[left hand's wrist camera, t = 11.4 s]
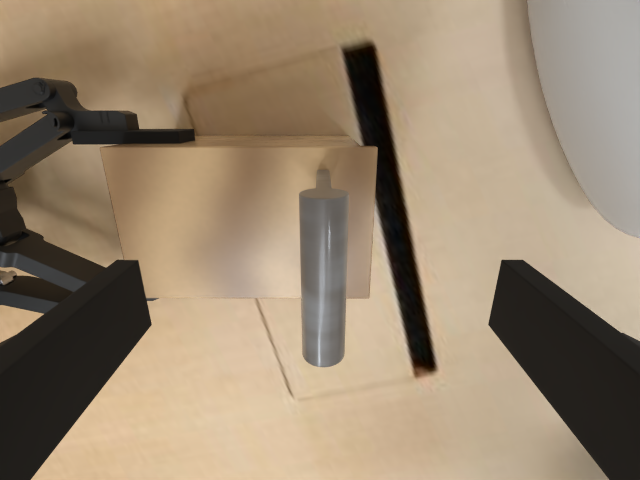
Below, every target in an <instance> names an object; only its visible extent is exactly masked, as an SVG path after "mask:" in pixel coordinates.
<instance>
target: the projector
mask: <svg viewBox="0 0 640 480" xmlns="http://www.w3.org/2000/svg"><path fill="white" fill-rule="evenodd" d="M527 6H528V16H529V24H530V31H531V38H532V44H533V49H534V55H535V60H536V66H537V70H538V74H539V79H540V83H541V87H542V91H543V94H544V98H545V102H546V105H547V108H548V111H549V114H550V117H551V120H552V123H553V126H554V129H555V132H556V134H557V137H558V139H559V142H560V145H561V147H562V149H563V152H564V154H565V156H566V158H567V161H568V163H569V165H570V167H571V169H572V171H573V173H574V175H575V177H576V179H577V181H578V183H579V185H580V186H581V188H582V190H583V192H584V193H585V195H586V197H587V198H588V200H589V201H590V203H591V204H592V205H593V207H594V208H595V209H596V210H597V212H598V213H599V214H600V215H601V216H602V217H603V218H604V219H605V220H606V221H607V222H609V223H610V224H611V225H612V226H613V227H615V228H616V229H618V230H620V231H622V232H624V233H626V234H628V235H631V236H634V237H638V238H640V0H527Z"/></svg>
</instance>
